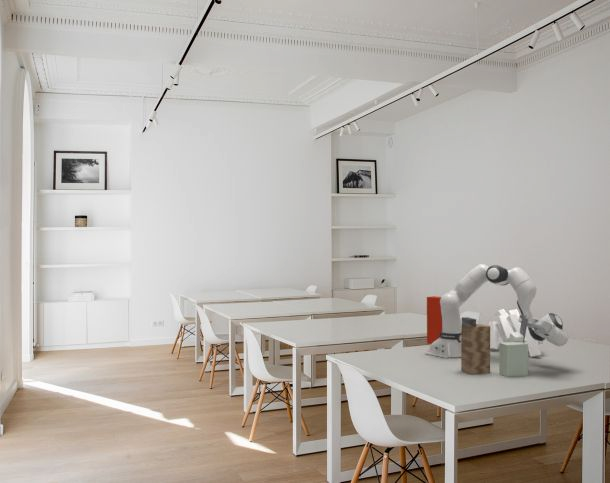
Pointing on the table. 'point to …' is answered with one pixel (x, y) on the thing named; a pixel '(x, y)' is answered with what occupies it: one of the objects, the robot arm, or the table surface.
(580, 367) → the table surface
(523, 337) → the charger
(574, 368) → the table surface
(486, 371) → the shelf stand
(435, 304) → the file binder
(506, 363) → the block
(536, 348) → the pile of blocks
